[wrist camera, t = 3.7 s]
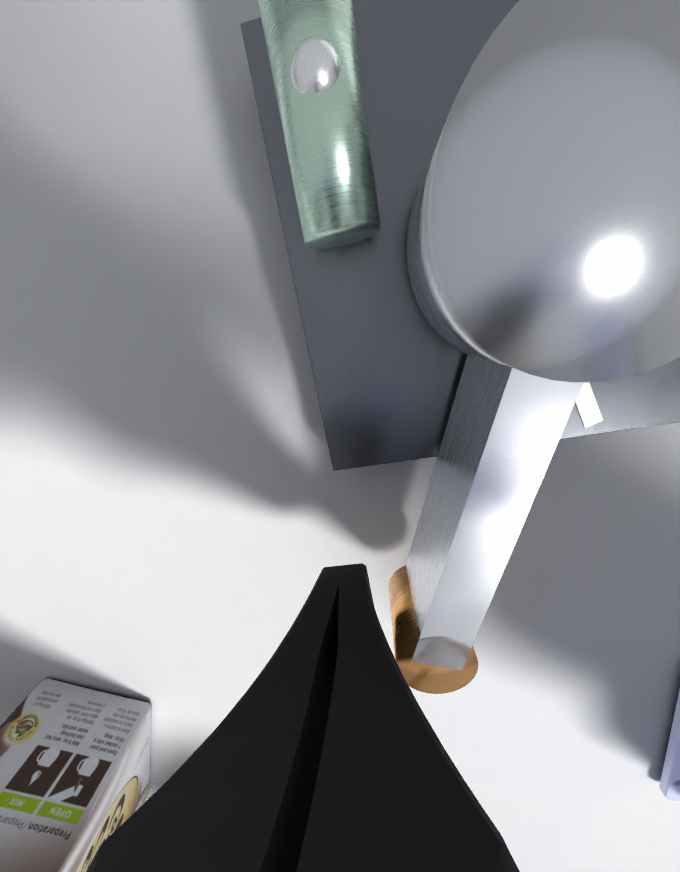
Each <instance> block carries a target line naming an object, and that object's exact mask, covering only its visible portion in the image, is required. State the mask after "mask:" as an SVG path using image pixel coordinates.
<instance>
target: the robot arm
mask: <svg viewBox="0 0 680 872" xmlns="http://www.w3.org/2000/svg"><path fill="white" fill-rule="evenodd" d="M660 789H661V791H662V792H663V794H664V795H665V797H666V798H668V799H670V800H675V801H676V800H680V690H679V695H678V700H677V704H676V709H675V714H674V719H673V724H672V728H671V733H670V738H669V743H668V748H667V752H666V757H665V762H664V767H663V772H662V776H661V781H660ZM86 872H520V871H519V869H518V867H517V866H516V864H515V862H514V860H513V858H512V856H511V854H510V852H509V850H508V848H507V846H506V844H505V841H504V839H503V837H502V836H501V834H500V833H499V831H498V830H497V828H496V827H495V825H494V824H493V822H492V821H491V820H490V818H489V817H488V815H487V814H486V812H485V811H484V809H483V808H482V806H481V805H480V803H479V802H478V800H477V799H476V797H475V796H474V794H473V793H472V791H471V790H470V788H469V787H468V785H467V784H466V782H465V781H464V779H463V778H462V776H461V774H460V773H459V771H458V770H457V768H456V767H455V765H454V763H453V762H452V760H451V759H450V757H449V755H448V754H447V752H446V751H445V749H444V747H443V746H442V744H441V742H440V741H439V739H438V737H437V736H436V734H435V732H434V730H433V729H432V727H431V725H430V724H429V722H428V720H427V719H426V717H425V715H424V713H423V712H422V710H421V708H420V707H419V705H418V703H417V701H416V699H415V697H414V695H413V694H412V692H411V690H410V688H409V686H408V684H407V682H406V680H405V678H404V676H403V674H402V672H401V670H400V668H399V666H398V664H397V662H396V660H395V658H394V656H393V653H392V651H391V649H390V647H389V644H388V642H387V640H386V637H385V635H384V633H383V630H382V628H381V625H380V623H379V620H378V617H377V614H376V611H375V609H374V604H373V599H372V594H371V589H370V584H369V578H368V573H367V568H366V566H365V565H364V564H352V565H343V566H333V567H324V569H323V570H322V571H321V573H320V575H319V577H318V579H317V581H316V583H315V585H314V587H313V589H312V591H311V593H310V595H309V597H308V599H307V600H306V602H305V604H304V606H303V608H302V609H301V611H300V613H299V615H298V616H297V618H296V620H295V621H294V623H293V625H292V627H291V628H290V630H289V631H288V633H287V635H286V636H285V638H284V639H283V641H282V642H281V644H280V645H279V647H278V648H277V650H276V652H275V653H274V655H273V656H272V658H271V659H270V660H269V662H268V663H267V665H266V666H265V668H264V669H263V670H262V672H261V673H260V674H259V676H258V677H257V678H256V680H255V681H254V682H253V684H252V685H251V686H250V688H249V689H248V690H247V692H246V693H245V694H244V695H243V697H242V698H241V699H240V700H239V702H238V703H237V704H236V705H235V706H234V708H233V709H232V710H231V711H230V713H229V714H228V715H227V716H226V718H225V719H224V720H223V721H222V722H221V723H220V725H219V726H218V727H217V728H216V729H215V730H214V731H213V733H212V734H211V735H210V736H209V737H208V738H207V739H206V740H205V741H204V742H203V743H202V745H201V746H200V747H199V748H198V749H197V750H196V751H195V752H194V753H193V754H192V755H191V756H190V757H189V758H188V760H187V761H186V762H185V763H184V764H183V765H182V766H181V767H180V768H179V769H178V770H177V771H176V772H175V773H174V774H173V775H172V777H171V778H170V779H169V780H168V781H167V782H166V783H165V784H164V785H163V786H162V787H161V788H160V789H159V790H158V791H157V792H155V793H154V794H153V795H152V796H151V797H150V798H149V799H148V800H147V801H146V802H145V803H144V804H143V805H142V806H141V807H140V808H139V809H138V810H137V811H136V812H134V813H133V814H132V815H131V816H130V817H129V818H128V819H127V820H126V821H125V822H124V823H123V824H122V825H121V826H120V827H119V828H118V829H117V830H116V831H114V832H113V833H112V834H111V835H110V836H109V837H108V838H107V839H106V840H105V841H103V842H102V844H101V845H100V847H99V849H98V851H97V853H96V854H95V856H94V858H93V860H92V862H91V863H90V865H89V867H88V869H87V871H86Z"/></svg>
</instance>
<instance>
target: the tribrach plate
mask: <svg viewBox="0 0 680 872" xmlns="http://www.w3.org/2000/svg"><path fill="white" fill-rule="evenodd" d="M518 1H519V0H258V4H259V9H260V14H261V18H258V19H255V20H252V21H249V22H245V23H242V24H240V25H241V29H242V34H243V39H244V44H245V49H246V53H247V58H248V63H249V68H250V73H251V77H252V82H253V87H254V92H255V97H256V101H257V106H258V111H259V116H260V120H261V125H262V130H263V135H264V140H265V144H266V149H267V154H268V159H269V164H270V168H271V173H272V178H273V183H274V188H275V192H276V197H277V202H278V207H279V212H280V216H281V221H282V226H283V231H284V236H285V240H286V245H287V250H288V255H289V260H290V264H291V269H292V274H293V279H294V284H295V288H296V293H297V298H298V303H299V308H300V312H301V317H302V322H303V327H304V332H305V336H306V341H307V346H308V351H309V356H310V360H311V365H312V370H313V375H314V380H315V384H316V389H317V394H318V399H319V404H320V408H321V413H322V418H323V423H324V428H325V432H326V437H327V442H328V447H329V452H330V456H331V461H332V466H333V471H335V470H342V469H349V468H356V467H363V466H370V465H377V464H384V463H392V462H399V461H406V460H413V459H420V458H427V457H434V456H438V454H439V450H440V447H441V444H442V440H443V437H444V433H445V430H446V427H447V423H448V420H449V416H450V413H451V409H452V406H453V403H454V399H455V396H456V392H457V389H458V386H459V382H460V379H461V375H462V372H463V368H464V365H465V362H466V358H467V354H465V353H463V352H461V351H460V350H458V349H456V348H455V347H453V346H452V345H450V344H449V343H448V342H447V341H445V340H444V339H443V338H442V337H441V336H440V335H439V334H438V333H437V332H436V331H435V330H434V329H433V328H432V326H431V325H430V324H429V322H428V321H427V319H426V318H425V316H424V315H423V313H422V311H421V309H420V307H419V305H418V303H417V301H416V298H415V295H414V292H413V290H412V287H411V282H410V277H409V273H408V264H407V233H408V226H409V220H410V215H411V211H412V207H413V203H414V200H415V197H416V194H417V192H418V189H419V186H420V184H421V181H422V179H423V176H424V174H425V171H426V169H427V166H428V164H429V162H430V159H431V157H432V154H433V152H434V149H435V147H436V145H437V142H438V140H439V137H440V135H441V132H442V130H443V127H444V125H445V123H446V120H447V118H448V115H449V113H450V110H451V108H452V106H453V103H454V101H455V98H456V96H457V94H458V92H459V90H460V88H461V86H462V84H463V82H464V80H465V78H466V76H467V74H468V72H469V70H470V68H471V66H472V64H473V62H474V61H475V59H476V58H477V56H478V55H479V53H480V52H481V50H482V48H483V47H484V45H485V44H486V42H487V41H488V39H489V38H490V36H491V34H492V33H493V32H494V30H495V29H496V28H497V27H498V25H499V24H500V23H501V22H502V20H503V19H504V18H505V17H506V15H507V14H508V13H509V12H510V10H511V9H512V8H513V7H514V5H515V4H516V3H517V2H518ZM676 422H680V357H679V358H677V359H675V360H673V361H671V362H669V363H667V364H665V365H662V366H660V367H657V368H654V369H652V370H649V371H646V372H643V373H640V374H636V375H632V376H628V377H624V378H621V379H615V380H608V381H600V382H584V383H583V385H582V388H581V390H580V392H579V395H578V397H577V399H576V402H575V404H574V407H573V409H572V411H571V414H570V416H569V418H568V421H567V423H566V425H565V428H564V430H563V433H562V435H561V437H560V439H562V438H569V437H576V436H584V435H591V434H598V433H605V432H612V431H619V430H626V429H633V428H640V427H648V426H655V425H662V424H669V423H676Z"/></svg>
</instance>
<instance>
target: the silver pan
mask: <svg viewBox="0 0 680 872" xmlns="http://www.w3.org/2000/svg"><path fill="white" fill-rule="evenodd" d="M407 264H408V273H409V277H410V282H411V287H412V290H413V292H414V295H415V298H416V301H417V303H418V305H419V307H420V309H421V311H422V313H423V315H424V316H425V318H426V319H427V321H428V322H429V324H430V325H431V326H432V328H433V329H434V330H435V331H436V332H437V333H438V334H439V335H440V336H441V337H442V338H443V339H444V340H445V341H447V342H448V343H449V344H450V345H452V346H453V347H455V348H456V349H458V350H460V351H461V352H463V353H465V354H467V358H466V362H465V365H464V368H463V372H462V375H461V379H460V382H459V386H458V389H457V392H456V396H455V399H454V403H453V406H452V409H451V413H450V416H449V420H448V423H447V427H446V430H445V433H444V437H443V440H442V444H441V447H440V450H439V454H438V457H437V461H436V464H435V468H434V471H433V474H432V478H431V481H430V485H429V488H428V491H427V495H426V498H425V502H424V505H423V509H422V512H421V515H420V519H419V522H418V526H417V529H416V532H415V536H414V539H413V543H412V546H411V550H410V553H409V556H408V560H407V563H406V566H403V567H401V568H400V569H398V570H397V571H396V572H395V573H394V574H393V576H392V577H391V579H390V582H389V598H390V608H391V618H392V628H393V638H394V648H395V659H396V662H397V664H398V666H399V668H400V670H401V672H402V674H403V676H404V678H405V680H406V682H407V684H408V686H410V687H412V688H414V689H416V690H418V691H421V692H425V693H433V694H442V693H448V692H453V691H456V690H458V689H460V688H462V687H464V686H466V685H467V684H468V683H469V682H470V681H471V680H472V679H473V678H474V677H475V675H476V673H477V670H478V661H477V657H476V654H475V651H474V648H473V643H474V641H475V638H476V636H477V634H478V631H479V629H480V627H481V624H482V622H483V619H484V617H485V615H486V612H487V610H488V608H489V605H490V603H491V601H492V598H493V596H494V593H495V591H496V589H497V586H498V584H499V582H500V579H501V577H502V575H503V572H504V570H505V567H506V565H507V563H508V560H509V558H510V556H511V553H512V551H513V548H514V546H515V544H516V541H517V539H518V537H519V534H520V532H521V530H522V527H523V525H524V522H525V520H526V518H527V515H528V513H529V511H530V508H531V506H532V504H533V501H534V499H535V496H536V494H537V492H538V489H539V487H540V485H541V482H542V480H543V477H544V475H545V473H546V470H547V468H548V466H549V463H550V461H551V459H552V456H553V454H554V451H555V449H556V447H557V444H558V442H559V440H560V437H561V435H562V433H563V430H564V428H565V425H566V423H567V421H568V418H569V416H570V414H571V411H572V409H573V407H574V404H575V402H576V399H577V397H578V395H579V392H580V390H581V388H582V385H583V383H584V382H600V381H608V380H615V379H621V378H624V377H628V376H632V375H636V374H640V373H643V372H646V371H649V370H652V369H654V368H657V367H660V366H662V365H665V364H667V363H669V362H671V361H673V360H675V359H677V358H679V357H680V0H519V1H518V2H517V3H516V4H515V5H514V7H513V8H512V9H511V10H510V12H509V13H508V14H507V15H506V17H505V18H504V19H503V20H502V22H501V23H500V24H499V25H498V27H497V28H496V29H495V30H494V32H493V33H492V34H491V36H490V38H489V39H488V41H487V42H486V44H485V45H484V47H483V48H482V50H481V52H480V53H479V55H478V56H477V58H476V59H475V61H474V62H473V64H472V66H471V68H470V70H469V72H468V74H467V76H466V78H465V80H464V82H463V84H462V86H461V88H460V90H459V92H458V94H457V96H456V98H455V101H454V103H453V106H452V108H451V110H450V113H449V115H448V118H447V120H446V123H445V125H444V127H443V130H442V132H441V135H440V137H439V140H438V142H437V145H436V147H435V149H434V152H433V154H432V157H431V159H430V162H429V164H428V166H427V169H426V171H425V174H424V176H423V179H422V181H421V184H420V186H419V189H418V192H417V194H416V197H415V200H414V203H413V207H412V211H411V215H410V220H409V226H408V233H407Z"/></svg>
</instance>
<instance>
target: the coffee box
mask: <svg viewBox="0 0 680 872" xmlns="http://www.w3.org/2000/svg"><path fill="white" fill-rule="evenodd" d="M151 718H152V705H151V704H150V703H147V702H143V701H139V700H134V699H130V698H125V697H121V696H118V695H114V694H109V693H105V692H101V691H96V690H92V689H89V688H84V687H80V686H76V685H72V684H68V683H64V682H61V681H57V680H53V679H45V680H43V681H41V682H40V683H39V684H38V685H37V686H36V687H35V688H34V689H33V691H32V692H31V693H30V694H29V695H28V696H27V697H26V699H25V700H24V701H23V702H22V703H21V704H20V705H19V706H18V707H17V709H16V710H15V711H14V712H13V713H12V714H11V715H10V716H9V717H8V718H7V720H6V721H5V722H4V723H3V724H2V725H1V726H0V872H86V871H87V869H88V867H89V865H90V863H91V862H92V860H93V858H94V856H95V854H96V853H97V851H98V849H99V847H100V845H101V844H102V842H103V841H105V840H106V839H107V838H108V837H109V836H110V835H111V834H112V833H113V832H114V831H116V830H117V829H118V828H119V827H120V826H121V825H122V824H123V823H124V822H125V821H126V820H127V819H128V818H129V817H130V816H131V815H132V814H133V813H134V812H136V811H137V810H138V809H139V808H140V807H141V806H142V805H143V804H144V802H145V800H146V797H147V795H148V793H149V787H150V755H151Z"/></svg>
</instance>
